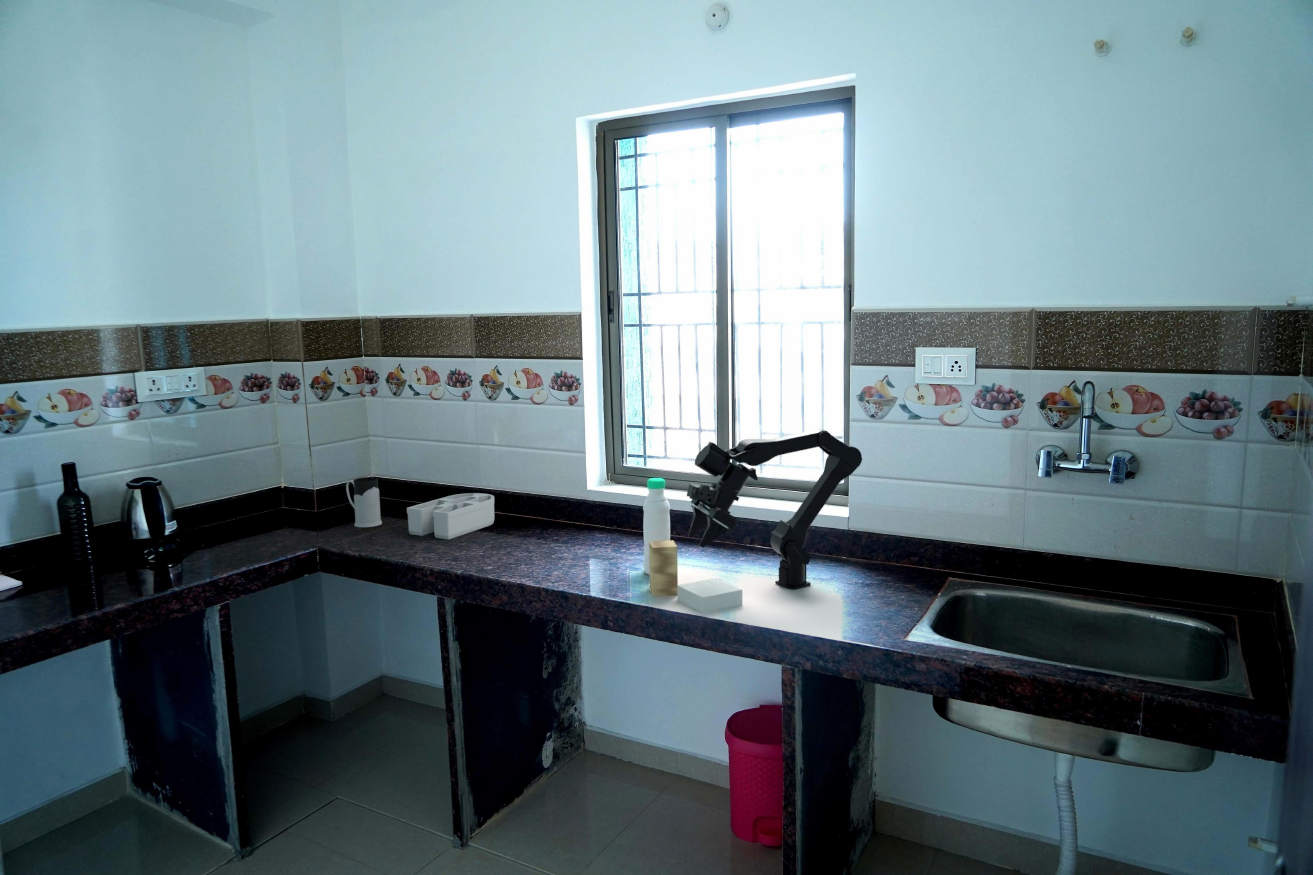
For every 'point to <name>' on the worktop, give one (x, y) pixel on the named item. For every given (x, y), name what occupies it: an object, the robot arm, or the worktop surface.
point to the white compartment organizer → (452, 515)
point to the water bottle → (655, 517)
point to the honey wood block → (663, 568)
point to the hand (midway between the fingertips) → (695, 541)
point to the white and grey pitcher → (366, 502)
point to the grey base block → (709, 595)
